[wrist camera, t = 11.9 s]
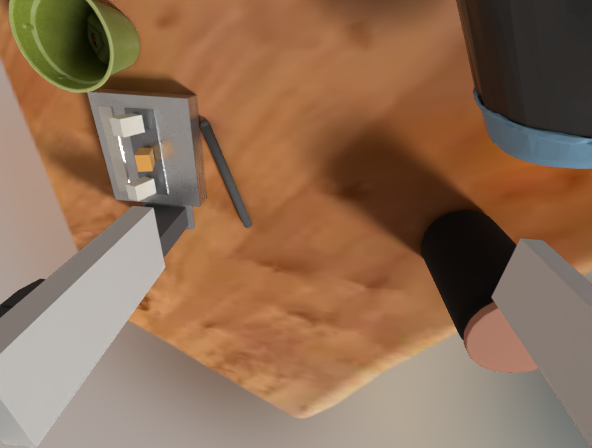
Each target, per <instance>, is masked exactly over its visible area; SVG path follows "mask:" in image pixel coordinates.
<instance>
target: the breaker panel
mask: <svg viewBox="0 0 592 448" xmlns="http://www.w3.org/2000/svg"><path fill="white" fill-rule="evenodd" d="M87 94H88V97H89V101H90V105H91V109H92V113H93V116H94V120H95V124H96V128H97V131H98V135H99V139H100V143H101V147H102V150H103V154H104V158H105V162H106V165H107V169H108V173H109V177H110V181H111V184H112V188H113V192H114V196H115V199H116V200H126V201H135V200H132V199H129V197H128V193H127V189H126V185H125V184H127V183H129V182H132V181H134V180H137V179H139V178H142V177H144V176H145V177H149V178H153V179H154V182H155V188H156V193H155V194H153V195H151V196H149V197H147V198H144V199H142V200H140V201H138V202H150V203H162V204H174V205H186V206H198V207H200V206H201V205H202V203H203V202H204V201H205V199H206V198H207V192H206V182H205V173H204V163H203V153H202V143H201V133H200V123H199V113H198V103H197V95H188V94H173V93H159V92H144V91H129V90H115V89H99V90H94V91H90V92H87ZM130 113H134V114H140V115H142V119H143V124H144V129H145V132H144V133H140V134H136V135H132V136H128V137H124V138H123V137H119V136H114V135H113V131H112V127H111V123H110V118H109V117H114V116H119V115H124V114H130ZM150 147H152V148H153V153H154V159H155V165H154V168H153V171H144V172H138V169H137V165H136V160H135V154H136V152H137V150H138V148H150Z"/></svg>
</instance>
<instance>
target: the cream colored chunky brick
mask: <svg viewBox="0 0 592 448" xmlns="http://www.w3.org/2000/svg"><path fill="white" fill-rule="evenodd" d="M109 118H110V123H111V127H112V131H113V135H114V136H119V137H123V138H124V137H128V136H132V135H136V134H140V133H144V132H145V129H144V124H143V119H142V115H140V114H134V113H130V114H124V115H119V116H114V117H109Z"/></svg>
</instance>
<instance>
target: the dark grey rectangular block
mask: <svg viewBox="0 0 592 448" xmlns="http://www.w3.org/2000/svg"><path fill="white" fill-rule="evenodd" d="M142 204H143V207H152V208H154V213H155V218H156V223H157V228H158V233H159V238H160V243H161V248H162V253H163V258H164V257H165V256H166V254H167V253H168V252H169V250H170V249H171V248H172V246H173V245H174V244H175V242H176V241H177V240H178V238H179V237H180V236H181V234H182V233H183V232H184V230H185V229H193V228H194V227H195V224H194V216H193V208H192V206H186V205H174V204H162V203H150V202H142Z"/></svg>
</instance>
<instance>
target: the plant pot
mask: <svg viewBox="0 0 592 448" xmlns="http://www.w3.org/2000/svg"><path fill="white" fill-rule="evenodd" d="M9 21H10V26H11V30H12V34H13V36H14V39H15V41H16V43H17V45H18V47H19V49H20V51H21V53H22V54H23V56H24V57H25V59H26V60H27V61H28V62H29V64H30V65H31V66H32V67H33V69H34V70H35V71H36V72H38V73H39V74H40V75H41V76H42V77H43V78H44V79H46V80H47V81H48V82H50V83H52V84H53V85H55V86H57V87H59V88H61V89H64V90H67V91H70V92H77V93H83V92H90V91H93V90H95V89H98V88H99V87H101V86H102V85H103V84H104V83H105V82H106V81H107V80H108V78H109V77H110V75H112V74H115V73H117V72H119V71H121V70H123V69H126V68H128V67H130V66H132V65H133V64H134V62H135V61H136V59H137V57H138V56H139V53H140V40H139V36H138V33H137V31H136V29H135V27H134V25H133V24H132V23H131V21H130V20H129V19H128V18H127V17H126V16H125V15H123V14H122V13H121V12H120V11H118V10H116V9H114V8H111V7H109V6H107V5H105V4H102V3H100V2H98V1H95V0H10V1H9ZM92 33H94V34H95V38H96V42H97V46H96V45H95V43H94V41H93V38H92Z"/></svg>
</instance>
